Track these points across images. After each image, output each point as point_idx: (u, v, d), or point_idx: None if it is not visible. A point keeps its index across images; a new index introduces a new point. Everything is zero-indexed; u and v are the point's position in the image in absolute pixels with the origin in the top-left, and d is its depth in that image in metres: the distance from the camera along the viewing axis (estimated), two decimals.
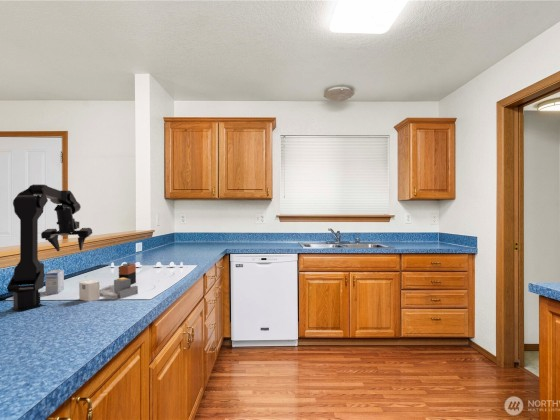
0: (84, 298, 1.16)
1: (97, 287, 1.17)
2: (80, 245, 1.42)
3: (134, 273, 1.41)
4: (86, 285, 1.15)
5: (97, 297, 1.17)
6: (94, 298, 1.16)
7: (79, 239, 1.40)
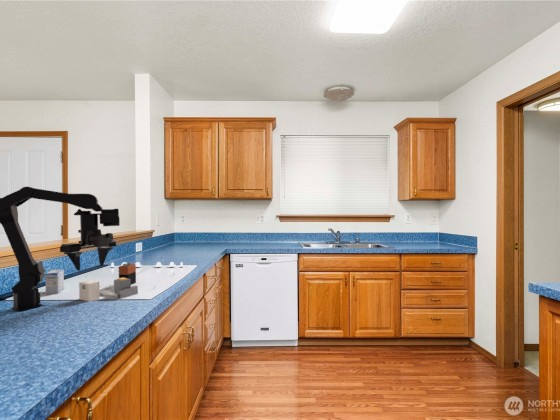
0: (84, 298, 1.16)
1: (97, 287, 1.17)
2: None
3: (134, 273, 1.41)
4: (86, 285, 1.15)
5: (97, 297, 1.17)
6: (94, 298, 1.16)
7: None
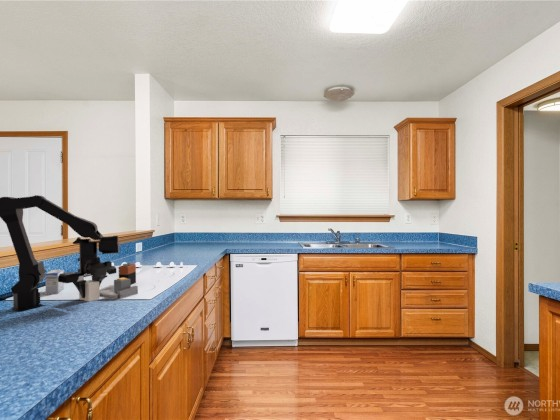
0: (84, 298, 1.16)
1: (97, 287, 1.17)
2: None
3: (134, 273, 1.41)
4: (86, 285, 1.15)
5: (97, 297, 1.17)
6: (94, 298, 1.16)
7: None
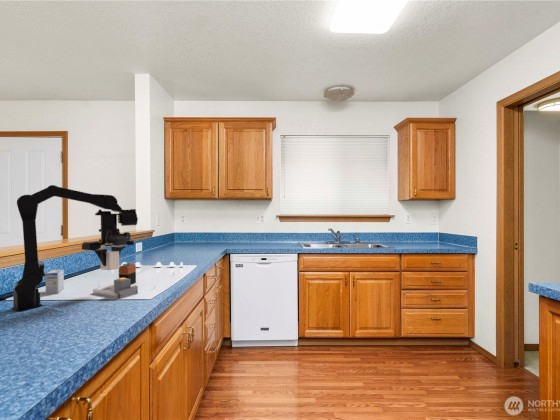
0: (105, 266, 1.24)
1: (117, 256, 1.25)
2: None
3: (134, 273, 1.41)
4: (107, 254, 1.23)
5: (117, 265, 1.25)
6: (114, 266, 1.24)
7: None
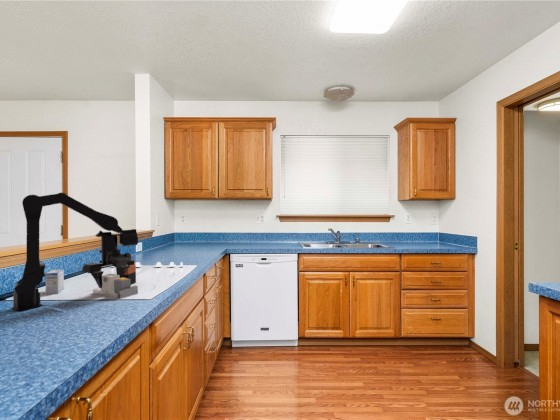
0: (106, 290, 1.24)
1: None
2: None
3: (134, 273, 1.41)
4: (108, 278, 1.23)
5: None
6: None
7: None
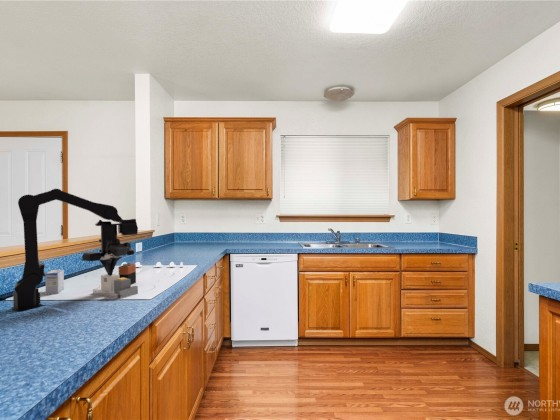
0: (106, 290, 1.24)
1: None
2: None
3: (134, 273, 1.41)
4: (108, 278, 1.23)
5: None
6: None
7: None
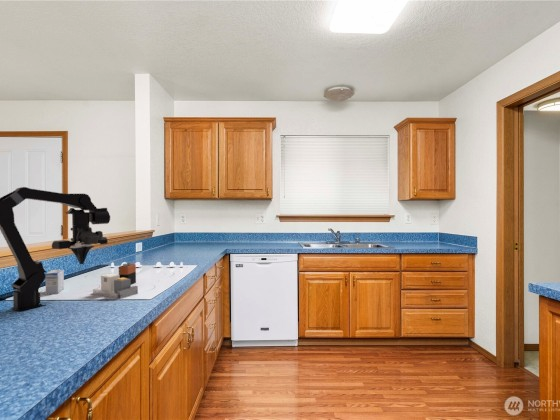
0: (106, 290, 1.24)
1: None
2: None
3: (134, 273, 1.41)
4: (108, 278, 1.23)
5: None
6: None
7: None
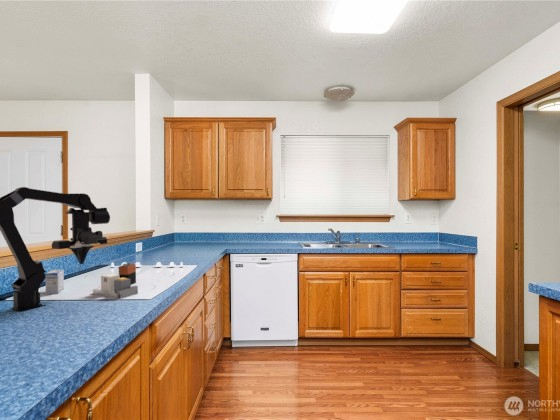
0: (106, 290, 1.24)
1: None
2: None
3: (134, 273, 1.41)
4: (108, 278, 1.23)
5: None
6: None
7: None
